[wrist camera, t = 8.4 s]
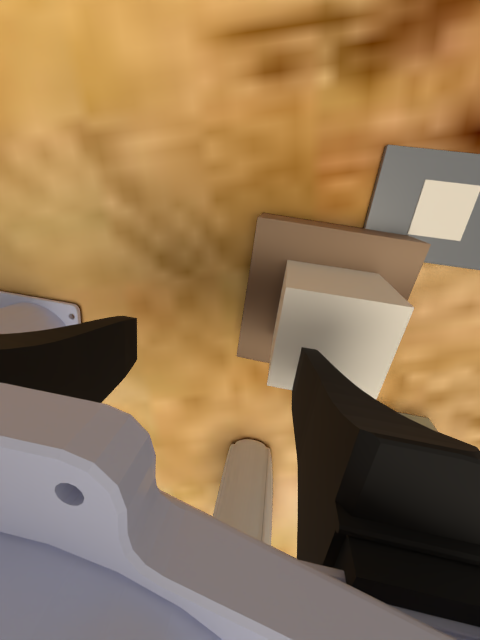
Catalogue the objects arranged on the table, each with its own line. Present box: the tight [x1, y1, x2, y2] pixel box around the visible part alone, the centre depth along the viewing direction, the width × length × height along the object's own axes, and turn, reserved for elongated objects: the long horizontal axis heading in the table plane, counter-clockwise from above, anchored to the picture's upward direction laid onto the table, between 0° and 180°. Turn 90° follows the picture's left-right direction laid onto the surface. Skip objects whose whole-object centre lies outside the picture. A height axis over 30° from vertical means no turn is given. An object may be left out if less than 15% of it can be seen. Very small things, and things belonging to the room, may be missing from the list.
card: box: [363, 145, 480, 270], centre depth 17 cm, size 6×8×1 cm
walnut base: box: [237, 213, 431, 363], centre depth 18 cm, size 9×9×3 cm
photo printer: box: [213, 439, 273, 546], centre depth 21 cm, size 10×4×12 cm, turn 1°
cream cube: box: [267, 260, 414, 399], centre depth 15 cm, size 5×5×5 cm
